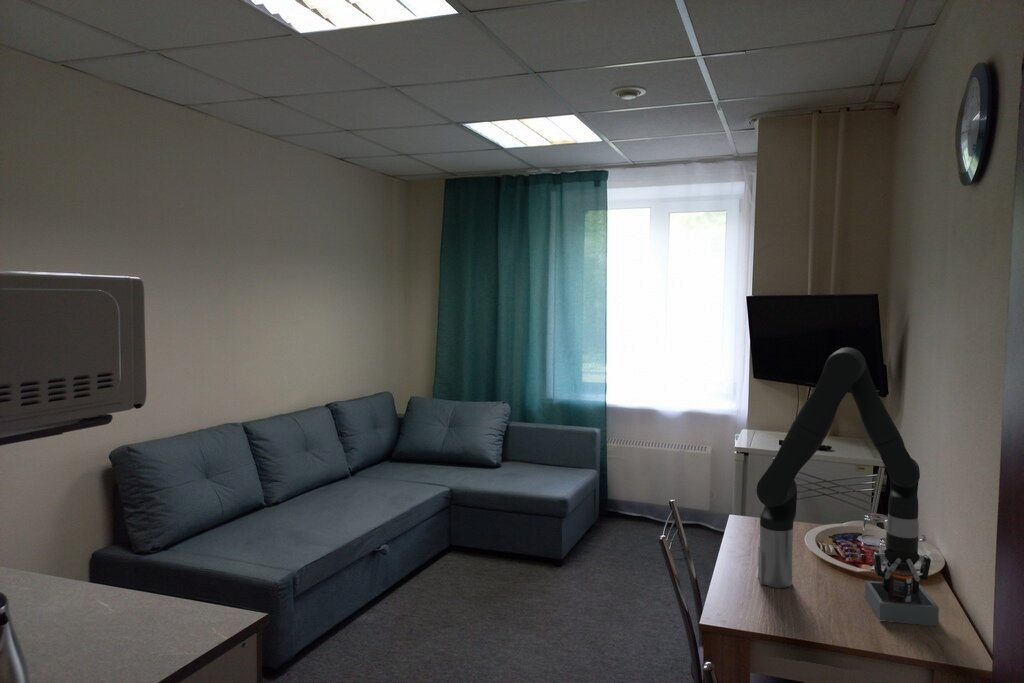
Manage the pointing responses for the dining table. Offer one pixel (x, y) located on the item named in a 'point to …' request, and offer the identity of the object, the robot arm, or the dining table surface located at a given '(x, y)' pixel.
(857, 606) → the dining table surface
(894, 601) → the supplement bottle
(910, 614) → the grey bin
